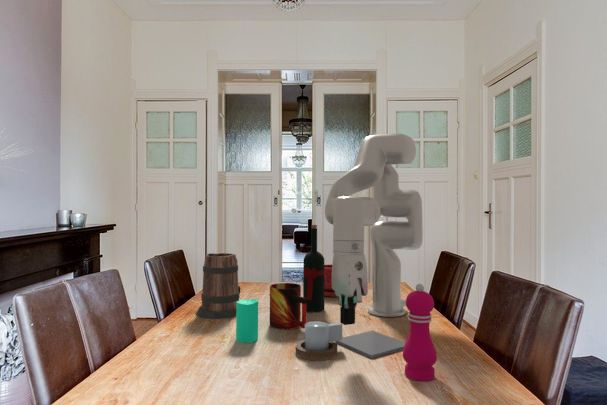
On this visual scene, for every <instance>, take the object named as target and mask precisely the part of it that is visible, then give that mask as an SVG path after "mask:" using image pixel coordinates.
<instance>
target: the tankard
mask: <svg viewBox="0 0 607 405" xmlns="http://www.w3.org/2000/svg"><path fill="white" fill-rule="evenodd" d="M236 255H237V254H236V253H228V252H227V253H226V252H221V253H213V252H212V253H206V254H205V257H204V264H203V266H202V277H203V278H202V293H201V295H200V296H201V297H200V298H201V299H200V300H201V305H200V306H199V307H198V309H197V311H195V313H194V315H195V316H196V317H198V318H201V319H206V320H226V319H227V320H228V319H233V318H236V301H239V300H240V294H241V286H240V285H239V265H238V259H237V256H236Z"/></svg>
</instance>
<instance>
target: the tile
mask: <svg viewBox="0 0 607 405" xmlns="http://www.w3.org/2000/svg"><path fill="white" fill-rule="evenodd" d="M334 342H335V343H336V344H337V345H340V346H342V347H344V348H346V349H348V350H351V351H353V352H355V353H358V354H360V355H362V356H365V357H367V358H369V359H371V360H372V359H375V358H379V357H383V356H385V355H386V356H387V355H389V354H393V353H396V352H399V351H403V348H404V345H405V342H406V341H403V340H400V339H398V338H394V337H392V336H389V335H386V334H383V333H380V332H378V331H376V330H370V331H365V332H359V333H356V334H351V335H348V336H344V337H343V336H342V340H341V341H334Z"/></svg>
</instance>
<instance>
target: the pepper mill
mask: <svg viewBox="0 0 607 405" xmlns="http://www.w3.org/2000/svg"><path fill="white" fill-rule="evenodd" d="M424 289H425V286H424V285H423V284H422V283H418V284H416V285H415V290H413V291H411V292H410V293H408V294H407V296H406V299H405V300H406V305H405V307H406V308H407V309H408V311H409V312H407V315H408V317H407V319H408V321H409V333H408V336H407V339H406V340H405V341H404V342H405V345H404V348H403V350H402V358H403V360H404V361H405V365H404V375H405V377H407V379H408V378H409V379H411V380H412V381H413V380H414V381H417V382H429V381H432V380H434V378H435V368H434V365H435V364H436V363H437V361H438V360H437V359H438V357H437V356H438V353H437V350H436V347H435V344H434V342H433V340H432V336H431V333H430V324H431V323H432V313H431V312H432V311H433V310H434V308H435V301H434V297H433V296H432V294H430V293H429V292H426V291H424Z"/></svg>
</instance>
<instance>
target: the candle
mask: <svg viewBox="0 0 607 405" xmlns="http://www.w3.org/2000/svg"><path fill="white" fill-rule="evenodd" d="M248 297H249V296H248V295H246V299H239V301H236V317H235V335H236V336H235V340H236V341H237V342H239V343H243V344H244V343H248V344H249V343H254V342H256V341H257V340H258V339H259V300H258V299H257V298H249V299H248Z"/></svg>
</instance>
